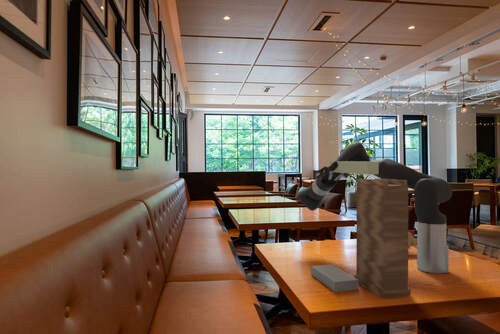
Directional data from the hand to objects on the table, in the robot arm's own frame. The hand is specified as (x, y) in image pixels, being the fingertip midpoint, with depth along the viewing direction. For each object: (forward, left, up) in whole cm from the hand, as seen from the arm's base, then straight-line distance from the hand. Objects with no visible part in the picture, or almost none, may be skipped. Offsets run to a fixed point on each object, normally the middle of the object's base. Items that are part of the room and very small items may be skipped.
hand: (342, 163), depth 121 cm
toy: (-31, -26, -39) cm, 56 cm away
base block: (+4, +16, -39) cm, 42 cm away
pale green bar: (-3, +6, -3) cm, 7 cm away
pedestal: (-10, +19, -39) cm, 44 cm away
